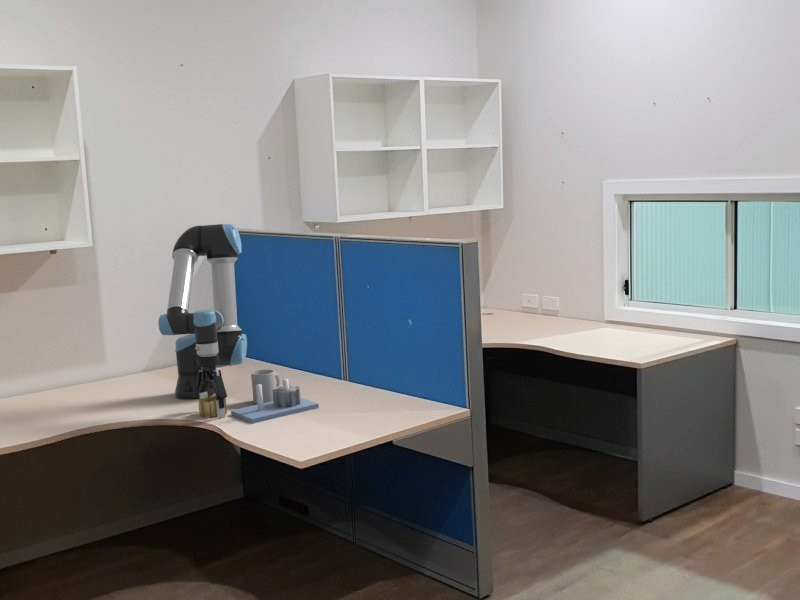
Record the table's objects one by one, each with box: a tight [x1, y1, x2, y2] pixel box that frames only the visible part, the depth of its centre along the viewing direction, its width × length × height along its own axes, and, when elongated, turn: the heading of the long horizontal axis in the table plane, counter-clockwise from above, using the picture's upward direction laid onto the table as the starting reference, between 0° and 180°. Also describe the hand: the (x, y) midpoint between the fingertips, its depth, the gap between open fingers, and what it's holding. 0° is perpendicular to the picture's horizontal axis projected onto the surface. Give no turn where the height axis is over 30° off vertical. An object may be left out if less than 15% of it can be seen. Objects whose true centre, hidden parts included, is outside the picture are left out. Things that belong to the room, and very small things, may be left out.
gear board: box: [230, 378, 320, 424], centre depth 325 cm, size 16×26×10 cm, turn 126°
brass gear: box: [197, 394, 228, 419], centre depth 327 cm, size 10×10×6 cm
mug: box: [250, 369, 281, 405], centre depth 341 cm, size 12×8×11 cm
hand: (213, 413), depth 327 cm, fingers open, 13 cm apart
